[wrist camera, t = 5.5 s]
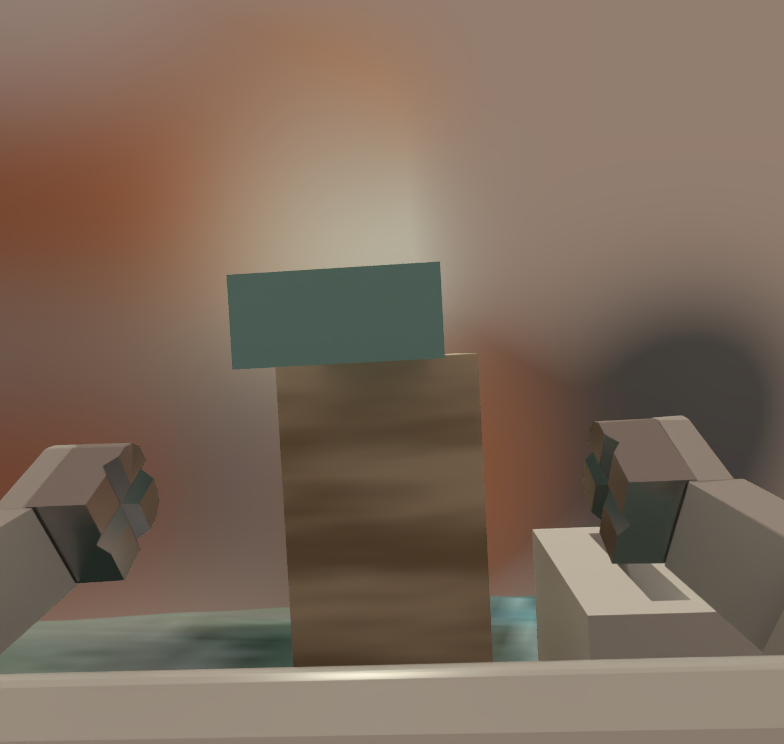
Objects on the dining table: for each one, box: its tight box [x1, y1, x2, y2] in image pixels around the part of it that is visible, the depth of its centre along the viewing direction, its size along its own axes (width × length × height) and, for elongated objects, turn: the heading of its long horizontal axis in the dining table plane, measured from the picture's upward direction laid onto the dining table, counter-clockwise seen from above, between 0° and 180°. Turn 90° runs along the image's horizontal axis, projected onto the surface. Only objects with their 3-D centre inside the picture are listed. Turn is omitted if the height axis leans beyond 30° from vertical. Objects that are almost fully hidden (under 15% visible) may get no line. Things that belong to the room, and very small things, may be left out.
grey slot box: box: [533, 527, 762, 661], centre depth 25 cm, size 10×7×16 cm
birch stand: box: [276, 353, 493, 667], centre depth 27 cm, size 10×8×26 cm
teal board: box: [227, 262, 445, 369], centre depth 25 cm, size 28×4×2 cm, turn 177°
